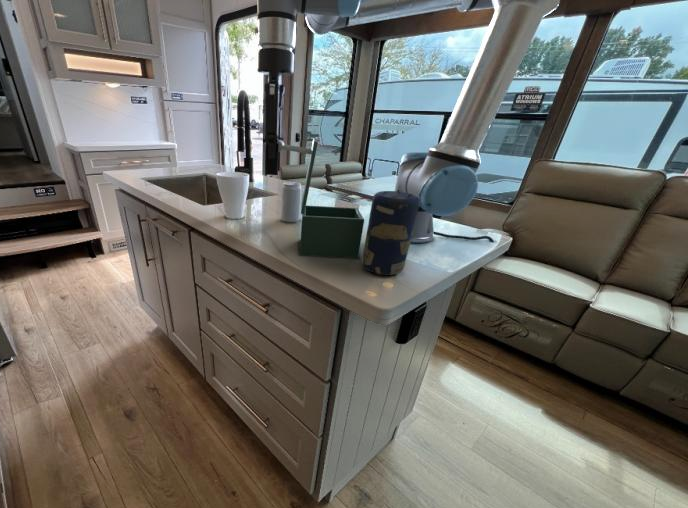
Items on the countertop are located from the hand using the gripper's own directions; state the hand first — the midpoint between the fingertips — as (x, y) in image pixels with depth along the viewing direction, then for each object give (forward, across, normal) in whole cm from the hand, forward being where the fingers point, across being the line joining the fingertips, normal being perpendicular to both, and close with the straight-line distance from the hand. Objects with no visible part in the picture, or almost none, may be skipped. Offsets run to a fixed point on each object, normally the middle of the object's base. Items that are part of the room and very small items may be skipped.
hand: (273, 172), depth 75 cm
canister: (+18, +12, +27) cm, 35 cm away
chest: (+18, 0, +15) cm, 24 cm away
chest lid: (0, 0, +9) cm, 9 cm away
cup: (+19, -26, -15) cm, 35 cm away
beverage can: (+18, -25, +4) cm, 31 cm away
